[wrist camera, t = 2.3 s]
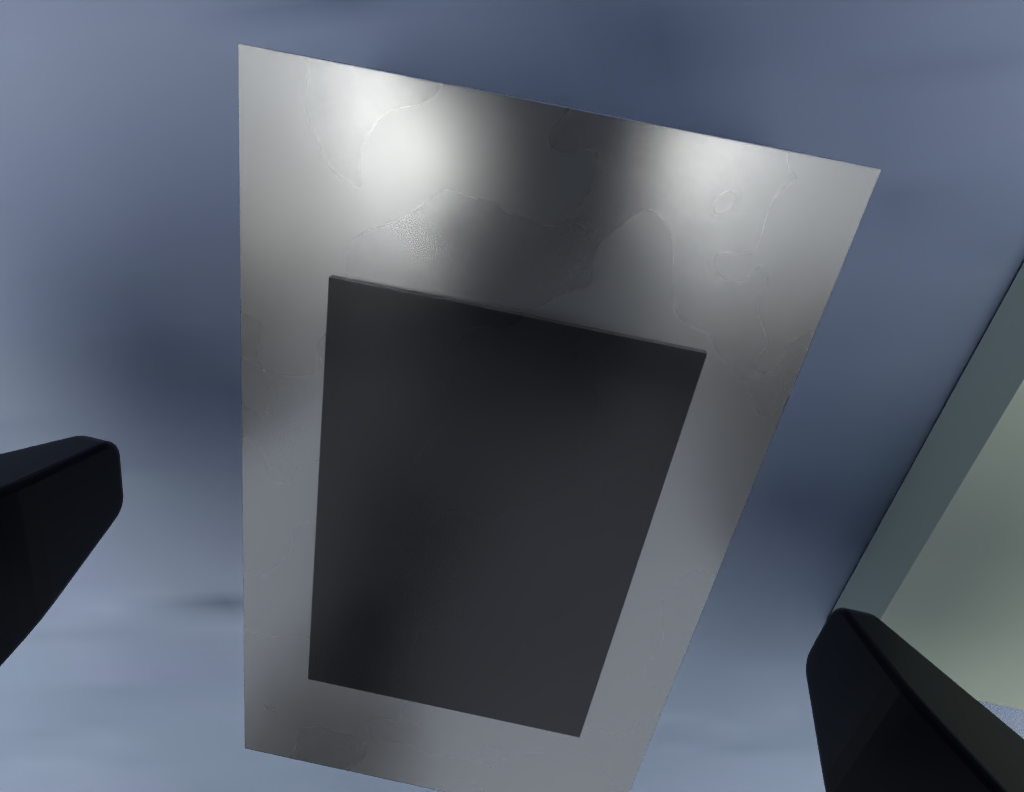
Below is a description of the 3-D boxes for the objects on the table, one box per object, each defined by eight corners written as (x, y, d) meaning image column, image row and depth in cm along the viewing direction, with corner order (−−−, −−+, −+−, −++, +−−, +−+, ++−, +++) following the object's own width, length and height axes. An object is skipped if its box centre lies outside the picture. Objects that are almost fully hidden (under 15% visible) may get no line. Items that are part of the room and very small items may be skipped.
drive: (605, 636, 14) (613, 835, 10) (334, 579, 14) (242, 754, 10) (766, 145, 9) (886, 170, 6) (370, 67, 9) (232, 42, 6)
